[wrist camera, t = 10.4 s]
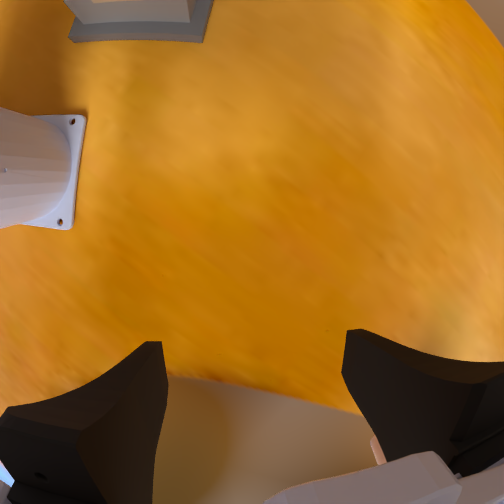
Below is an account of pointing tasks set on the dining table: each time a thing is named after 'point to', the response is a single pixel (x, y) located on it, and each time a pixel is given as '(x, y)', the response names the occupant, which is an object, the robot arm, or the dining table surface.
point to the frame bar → (102, 0)
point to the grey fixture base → (139, 20)
